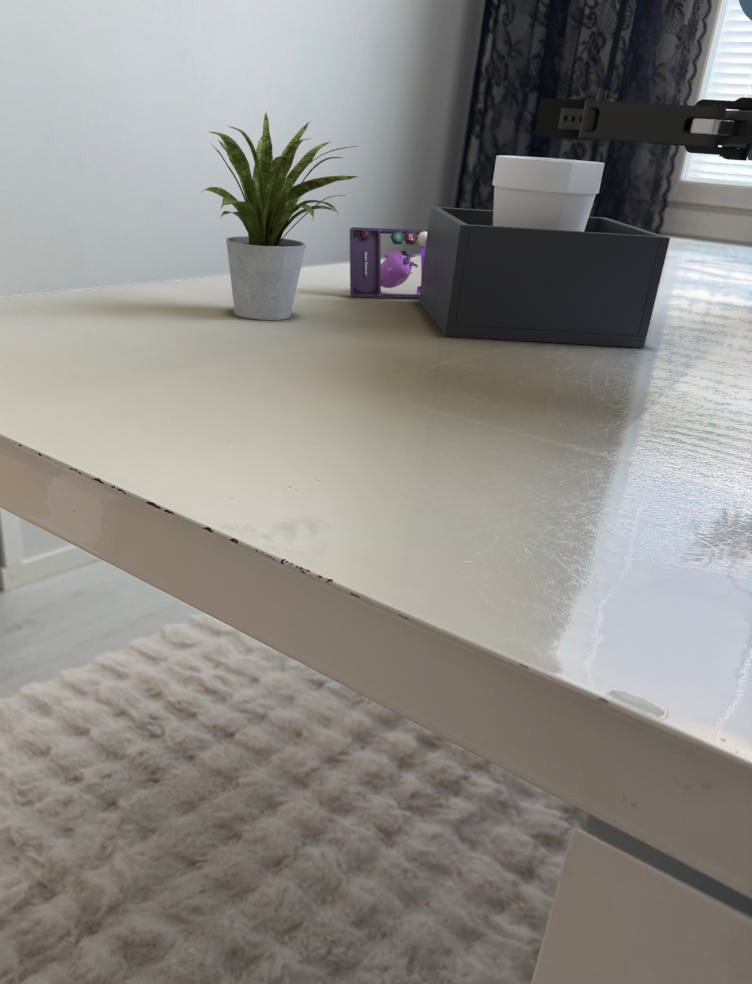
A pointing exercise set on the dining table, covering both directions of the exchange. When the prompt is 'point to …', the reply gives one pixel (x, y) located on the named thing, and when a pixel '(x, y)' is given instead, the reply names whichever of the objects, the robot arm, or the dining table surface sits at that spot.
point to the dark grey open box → (540, 280)
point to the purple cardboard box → (367, 261)
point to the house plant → (268, 223)
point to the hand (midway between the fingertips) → (600, 122)
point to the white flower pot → (544, 192)
